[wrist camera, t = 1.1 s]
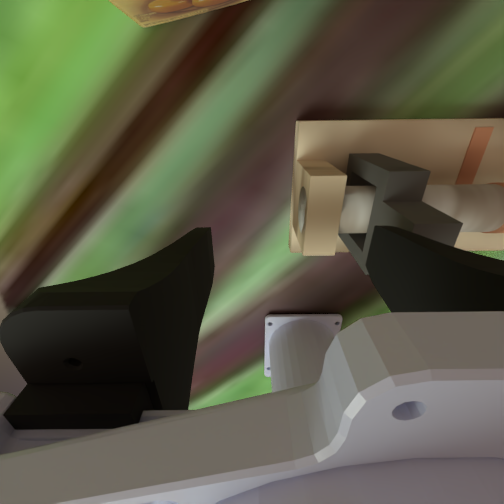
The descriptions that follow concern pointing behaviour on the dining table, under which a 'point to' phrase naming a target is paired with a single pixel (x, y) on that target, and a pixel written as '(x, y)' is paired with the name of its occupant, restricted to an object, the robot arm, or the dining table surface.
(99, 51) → the dining table surface
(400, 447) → the robot arm
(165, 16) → the candy box
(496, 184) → the pipe stand
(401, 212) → the dark grey z bracket
